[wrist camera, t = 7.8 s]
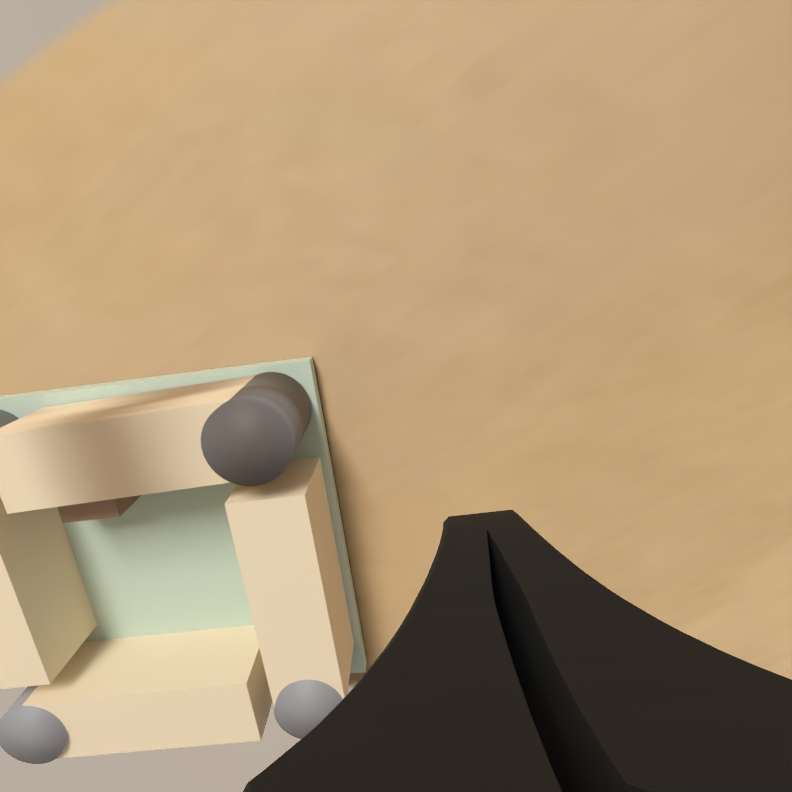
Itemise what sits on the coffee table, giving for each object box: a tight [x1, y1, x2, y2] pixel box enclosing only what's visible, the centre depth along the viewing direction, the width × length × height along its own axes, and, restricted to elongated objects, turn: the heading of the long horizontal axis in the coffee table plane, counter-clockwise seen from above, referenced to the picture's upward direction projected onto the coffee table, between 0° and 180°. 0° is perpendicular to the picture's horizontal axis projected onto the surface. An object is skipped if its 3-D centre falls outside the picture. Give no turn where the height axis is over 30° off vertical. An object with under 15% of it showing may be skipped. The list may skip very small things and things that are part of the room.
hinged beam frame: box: [0, 357, 367, 764], centre depth 19 cm, size 13×13×4 cm
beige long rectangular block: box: [0, 372, 311, 514], centre depth 17 cm, size 9×3×3 cm, turn 99°
